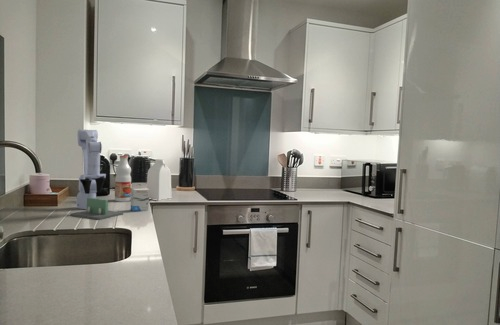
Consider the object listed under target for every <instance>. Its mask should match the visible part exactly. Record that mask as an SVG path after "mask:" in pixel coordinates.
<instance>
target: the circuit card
mask: <svg viewBox="0 0 500 325" xmlns="http://www.w3.org/2000/svg"><path fill="white" fill-rule="evenodd" d="M88 207H90V213H98V214H99V208H101V214H105V215H106V214H108V211H109V199H103V198H97V197H96V198H87V210H86V211H87V212H88Z"/></svg>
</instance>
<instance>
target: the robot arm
mask: <svg viewBox="0 0 500 325" xmlns="http://www.w3.org/2000/svg"><path fill="white" fill-rule="evenodd" d="M98 133H99V132H98V130H97V129H84V128H83V129H82V128H79V129H78V130H77V144H78V146H79V147H81V150H82V159H83V174H80V176H79V178H78V191H79V192H78V193H77V195H76V206H75V209H78V210H79V209H80V210H85V211H87V198H96V199H97V193H101V192H102V189H103V187H104V184H105V182H106V181H107V178H106V176H107V173H101V153H102V150H103V149H102V148H103V147H102V146H103V145H102V142H101V141H99V140H98V136H99V134H98Z"/></svg>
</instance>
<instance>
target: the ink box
mask: <svg viewBox="0 0 500 325" xmlns="http://www.w3.org/2000/svg"><path fill="white" fill-rule="evenodd" d="M146 187H147V182H131V200H130V211H132V212H143V211H144V212H148V211H149V206H150V205H149V204H150V203H149V202H150V200H149V189H147V188H146Z"/></svg>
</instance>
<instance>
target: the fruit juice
mask: <svg viewBox="0 0 500 325" xmlns="http://www.w3.org/2000/svg"><path fill="white" fill-rule="evenodd" d="M128 158H129V156H128V155H119V162H118V165H116V167H115V173H116V175H115V177H114V180H115V181H114V201H115V202H121V203H122V202H125V203H126V202H131V189H132V176H131V173H132V168H131V166H130V165H129V161H128Z"/></svg>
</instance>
